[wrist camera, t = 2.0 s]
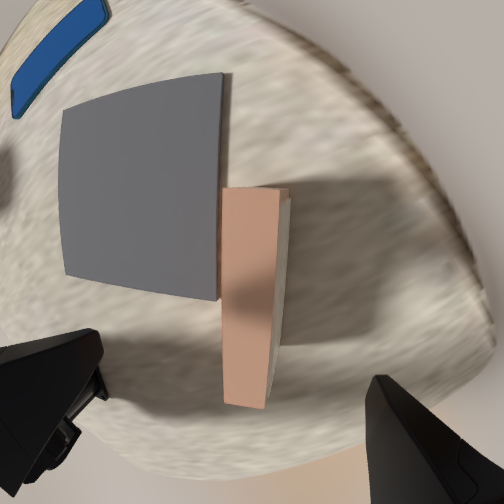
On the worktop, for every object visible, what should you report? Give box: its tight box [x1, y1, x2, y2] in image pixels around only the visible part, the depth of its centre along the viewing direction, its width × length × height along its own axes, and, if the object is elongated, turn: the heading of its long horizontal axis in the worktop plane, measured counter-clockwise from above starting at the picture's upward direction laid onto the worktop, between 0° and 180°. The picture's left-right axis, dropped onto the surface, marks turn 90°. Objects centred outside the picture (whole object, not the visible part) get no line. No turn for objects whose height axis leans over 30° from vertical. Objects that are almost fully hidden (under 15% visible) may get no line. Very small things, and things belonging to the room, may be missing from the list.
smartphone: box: [11, 0, 109, 119], centre depth 15 cm, size 7×1×15 cm
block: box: [222, 187, 291, 409], centre depth 13 cm, size 10×2×6 cm, turn 178°
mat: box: [58, 72, 224, 301], centre depth 16 cm, size 14×14×1 cm
